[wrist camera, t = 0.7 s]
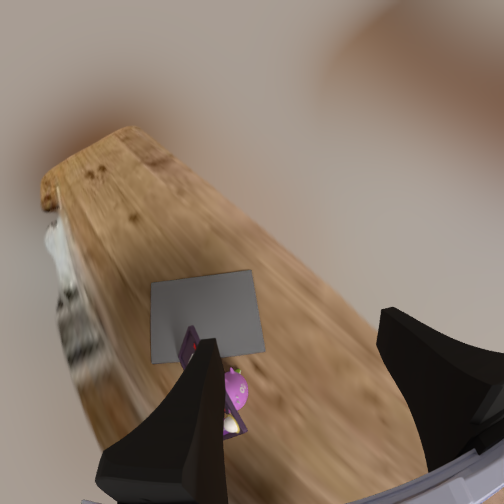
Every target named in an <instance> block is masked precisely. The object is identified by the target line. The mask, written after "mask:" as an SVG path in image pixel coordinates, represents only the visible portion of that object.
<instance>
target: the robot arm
mask: <svg viewBox="0 0 504 504" xmlns="http://www.w3.org/2000/svg"><path fill="white" fill-rule="evenodd" d="M376 346H377V348H378V350H379V353H380V355H381V358H382V360H383V362H384V364H385V366H386V368H387V369H388V371H389V373H390V374H391V376H392V378H393V379H394V381H395V383H396V385H397V386H398V388H399V390H400V391H401V393H402V395H403V396H404V398H405V400H406V402H407V404H408V407H409V409H410V411H411V414H412V416H413V419H414V422H415V424H416V427H417V430H418V433H419V436H420V439H421V443H422V446H423V450H424V454H425V458H426V463H427V467H428V474H425V475H423V476H421V477H419V478H417V479H414V480H412V481H410V482H407V483H405V484H402V485H400V486H397V487H395V488H392V489H389V490H387V491H384V492H381V493H378V494H375V495H372V496H369V497H366V498H363V499H360V500H357V501H353V502H350V503H346V504H481V503H482V502H484V501H485V500H487V499H488V498H490V497H491V496H492V495H494V494H495V493H496V492H498V491H499V490H500V489H502V488H503V487H504V353H499V352H494V351H489V350H485V349H481V348H478V347H474V346H471V345H468V344H465V343H463V342H460V341H458V340H455V339H453V338H450V337H448V336H446V335H444V334H442V333H440V332H438V331H436V330H434V329H432V328H430V327H429V326H427V325H425V324H423V323H421V322H420V321H418V320H416V319H414V318H413V317H411V316H409V315H408V314H406V313H404V312H402V311H400V310H399V309H397V308H395V307H390V308H386V309H382V310H381V315H380V323H379V330H378V336H377V342H376ZM225 397H226V388H225V372H224V368H223V364H222V361H221V357H220V353H219V349H218V345H217V341H216V338H209V339H201V340H200V341H199V343H198V345H197V348H196V350H195V352H194V354H193V355H192V357H191V359H190V361H189V363H188V365H187V366H186V368H185V370H184V371H183V373H182V375H181V376H180V378H179V379H178V381H177V382H176V384H175V385H174V387H173V388H172V390H171V391H170V392H169V394H168V395H167V396H166V398H165V399H164V400H163V401H162V402H161V404H160V405H159V406H158V407H157V408H156V409H155V410H154V411H153V412H152V413H151V414H150V416H149V417H148V418H147V419H146V420H144V421H143V422H142V423H141V424H140V425H139V426H138V427H137V428H135V429H134V430H133V431H132V432H131V433H129V434H128V435H127V436H125V437H124V438H123V439H121V440H120V441H118V442H117V443H115V444H114V445H112V446H110V447H109V448H107V449H106V450H104V451H103V454H102V456H101V459H100V462H99V466H98V470H97V474H96V478H95V482H96V484H97V486H98V487H99V488H100V489H101V490H103V491H104V492H105V493H106V494H108V495H109V496H110V497H112V498H113V499H114V500H116V501H117V504H228V496H227V487H226V477H225V465H224V451H223V429H224V413H225ZM81 504H100V503H95V502H92V501H88V500H82V502H81Z"/></svg>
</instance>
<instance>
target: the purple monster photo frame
mask: <svg viewBox="0 0 504 504" xmlns="http://www.w3.org/2000/svg"><path fill="white" fill-rule="evenodd" d="M199 341H200V338H199V336H198V334H197V331H196V329H195V327H194V325H191V326H188V328H187V331H186V334H185V337H184V340H183V343H182V345H181V348H180V351H179V354H178V358H179V360H180V363H181V365H182V367H183V369H184V370H185V368H186V366H187V365H188V363H189V361H190V359H191V357H192V355H193V354H194V352H195V350H196V348H197V345H198V343H199ZM239 372H241V371H240V369H237V370H235V371H234V370H233V369H232V367H230V372H226V373H225V388H226V397H225V413H226V414H229V413H231V414H232V415H230V414H229V415H227V418H226V419H225V418H224V429H223V440H226V439H229V438H232V437H235V436H237V435H240V434H243V433H245V432H247V431H248V430H247V428H246V426H245V424H244V422H243V421H242V419H241V417H240V415H239V413H238V412H237V410H239V409H240V408H242V407H243V406H244V404H245V403H246V400H247V397H248V386H247V382H246V380H245V379H244V377H243V376H242V375H241V374H240V373H239ZM229 432H230V433H229Z"/></svg>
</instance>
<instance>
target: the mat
mask: <svg viewBox="0 0 504 504" xmlns="http://www.w3.org/2000/svg"><path fill="white" fill-rule="evenodd" d="M191 325H194V327H195V329H196V331H197V334H198V336H199V338H200V340H201V339H209V338H216V341H217V345H218V349H219V353H220V357H221V358H224V357H232V356H239V355H247V354H254V353H260V352H265V345H264V340H263V334H262V328H261V323H260V317H259V311H258V306H257V300H256V294H255V289H254V283H253V277H252V271H251V270H247V271H240V272H232V273H225V274H217V275H210V276H202V277H194V278H186V279H178V280H170V281H162V282H154V283H151V360H152V364H158V363H173V362H180V360H179V358H178V354H179V351H180V348H181V345H182V343H183V340H184V337H185V334H186V331H187V328H188V326H191Z"/></svg>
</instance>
